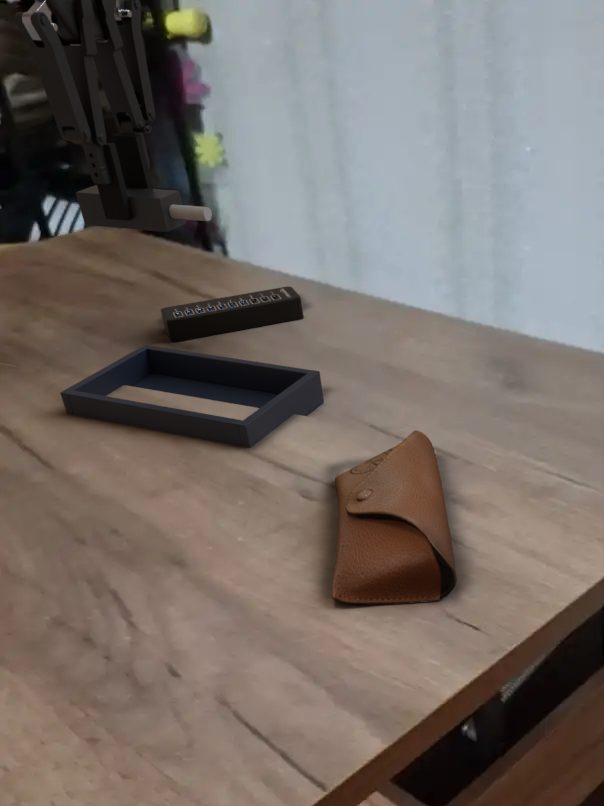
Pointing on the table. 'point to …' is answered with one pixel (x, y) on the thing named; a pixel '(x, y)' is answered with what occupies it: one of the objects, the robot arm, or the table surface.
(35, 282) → the table surface
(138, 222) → the black block with peg
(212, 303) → the multiport hub
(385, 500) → the sunglasses case
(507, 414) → the table surface
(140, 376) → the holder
